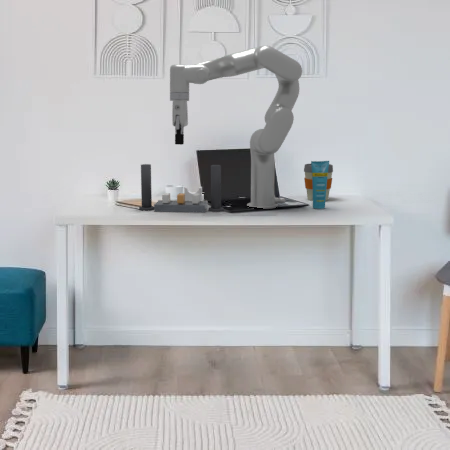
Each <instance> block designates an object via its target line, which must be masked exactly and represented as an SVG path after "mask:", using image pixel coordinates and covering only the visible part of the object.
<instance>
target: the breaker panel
mask: <svg viewBox="0 0 450 450" xmlns="http://www.w3.org/2000/svg"><path fill="white" fill-rule="evenodd" d="M153 206H154V210H153V211H154V212H156V213H158V212H160V213H205V212H206V211H207V210H208V209H209V206H208V200H203V201H200V202H199V203H198V204H196V203H192V201H191V200H185V202H184V203H177V199H175V200H174V199H170V202H169V203H162V199H158V200H157V202H156V203H154V205H153Z"/></svg>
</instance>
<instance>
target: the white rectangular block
mask: <svg viewBox="0 0 450 450" xmlns="http://www.w3.org/2000/svg"><path fill="white" fill-rule="evenodd" d="M161 197H162V199H161V200H162V203H169V202H170V200H171V193H170V192H164V193H163V194H162V195H161Z"/></svg>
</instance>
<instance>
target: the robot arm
mask: <svg viewBox="0 0 450 450" xmlns="http://www.w3.org/2000/svg"><path fill="white" fill-rule="evenodd" d="M262 69H266V70H267V71H269V72H270V73H273V74H274V75H275V77H276V78H275V79H277V81H278V88H277V91H276V94H275V96H274V98H273V100H272V102H270V103H271V104H270V105H269V106H268V109H267V110H266V112H265V114H264V122H265V125H264V127H263V128H259V129H256V130H255V131H253V133H252V135H250V140H249V148H250V150H249V151H250V202H248V203H247V204H246V206H249V207H257V208H263V209H262V210H269V209H270V210H272V209H275V208H276V207H277V206H279V204H280V203H281V204H286V198H283V197H277V196H276V194H275V173H276V172H275V167H276V165H275V163H276V161H275V160H276V159H275V153H277V152H278V151H279V150H280V149H281V147H282V145H283V143H284V142H285V140H286V137H287V136H288V135H289V132H290V130H291V128H292V127H293V124H294V120H295V119H294V113H293V111H292V110H293V108H294V106H295V104H296V102H297V101H298V98H299V95H300V81H299V79H301V77H302V74H303V68H302V65H301V63H300V62H298V60H296V59H294V58H291V57H290V56H288V55H287V54H285V53H283V52H282V51H280V50H278V49H276V48H275V47H273V46H271V45H262V46H257V47H254V48H249V49H246V50H241V51H238V52H234V53H230V54H227V55H224V56H221V57H219V58H216V59H211V60H209V61H208V60H207V61H204V62H200V63H197V64H192V65H191V64H190V65H188V64H172V65H170V67H169V101H170V102H172V106H171V107H172V110H171V111H172V113H171V114H172V115H171V116H172V117H171V118H172V119H171V120H172V126H173V127H174V131H175V133H174V135H175V136H174V145H181V146H182V145H184V144H185V143H184V142H185V139H184V137H185V135H184V133H185V132H184V128H185V127H187V126H188V124H189V122H188V121H189V119H188V118H189V115H188V112H189V111H188V102H190V84H194V85H195V84H196V85H203V84H206V83H207V82H209V81H212V80H217V79H221V78H228V77H229V78H230V77H237V76H241V75H244V74H247V73H250V72H254V71H258V70H262ZM249 207H248V208H249ZM277 208H278V207H277ZM277 208H276V209H277Z"/></svg>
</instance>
